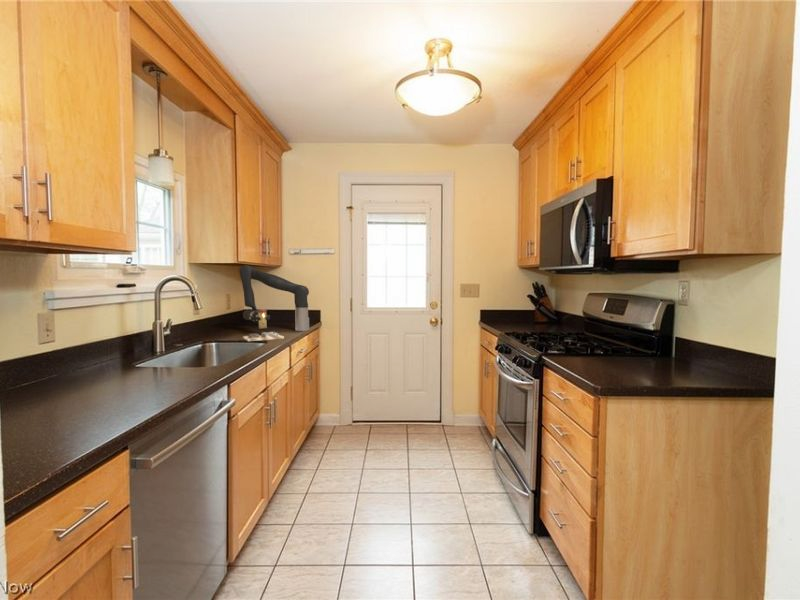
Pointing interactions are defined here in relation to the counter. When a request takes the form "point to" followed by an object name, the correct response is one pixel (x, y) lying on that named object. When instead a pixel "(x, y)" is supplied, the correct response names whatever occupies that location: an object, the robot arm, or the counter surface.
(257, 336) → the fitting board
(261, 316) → the yellow jar
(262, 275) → the robot arm
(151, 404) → the counter surface
